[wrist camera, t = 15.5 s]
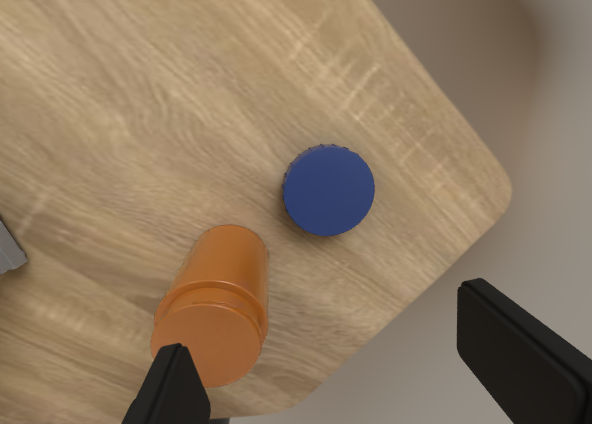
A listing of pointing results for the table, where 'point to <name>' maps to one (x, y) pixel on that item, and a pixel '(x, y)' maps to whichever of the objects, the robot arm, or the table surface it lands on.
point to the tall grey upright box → (9, 252)
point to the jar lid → (328, 190)
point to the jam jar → (218, 305)
